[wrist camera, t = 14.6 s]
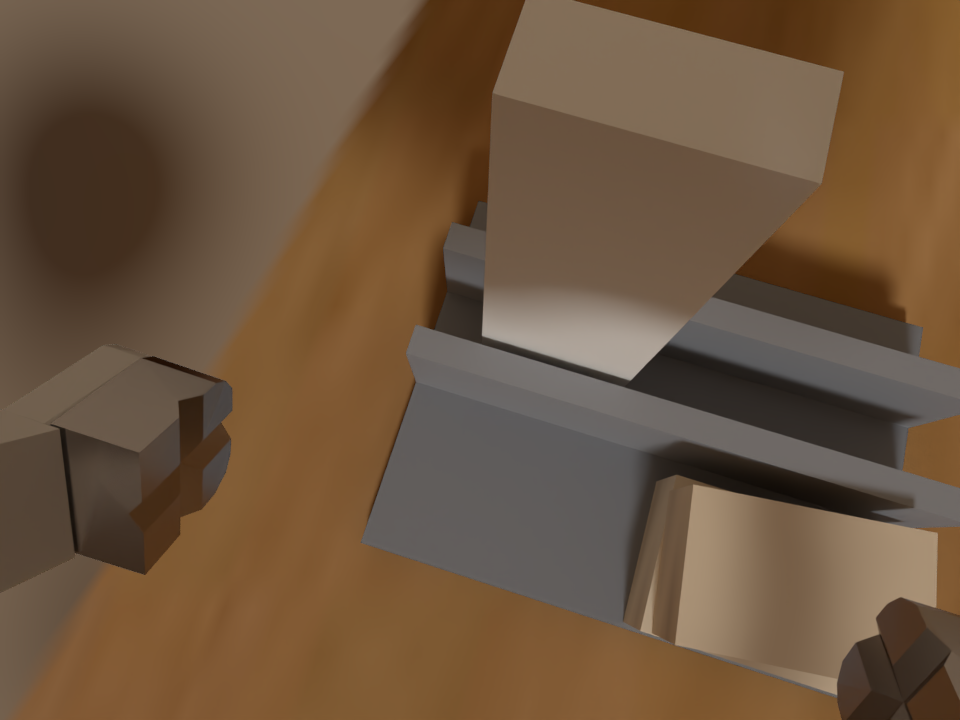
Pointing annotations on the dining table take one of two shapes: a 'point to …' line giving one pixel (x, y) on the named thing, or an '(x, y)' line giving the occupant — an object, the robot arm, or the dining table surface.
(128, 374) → the robot arm
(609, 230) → the plank
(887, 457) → the rack
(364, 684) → the dining table surface
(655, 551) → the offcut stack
